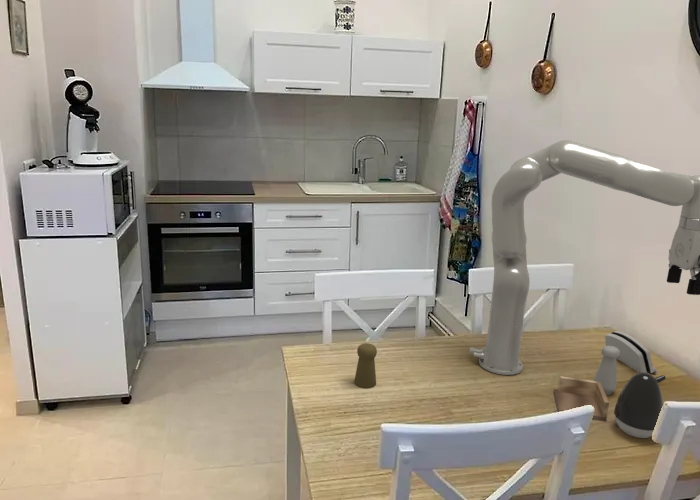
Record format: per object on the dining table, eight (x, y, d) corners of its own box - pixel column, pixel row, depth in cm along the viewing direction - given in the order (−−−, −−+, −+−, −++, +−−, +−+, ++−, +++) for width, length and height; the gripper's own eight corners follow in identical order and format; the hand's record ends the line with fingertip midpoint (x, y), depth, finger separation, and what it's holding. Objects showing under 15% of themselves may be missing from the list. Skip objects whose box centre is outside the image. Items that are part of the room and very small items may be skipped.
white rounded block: (658, 374, 159) (654, 345, 156) (644, 380, 158) (640, 351, 155) (619, 350, 175) (614, 323, 171) (606, 355, 174) (601, 328, 171)
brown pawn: (379, 380, 147) (382, 343, 145) (371, 390, 142) (373, 352, 139) (359, 375, 150) (361, 338, 147) (350, 385, 144) (352, 347, 142)
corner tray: (558, 413, 135) (561, 395, 134) (553, 392, 146) (556, 375, 144) (605, 421, 133) (609, 402, 132) (597, 399, 143) (600, 381, 142)
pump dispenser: (670, 442, 125) (683, 382, 122) (631, 446, 123) (643, 385, 119) (638, 418, 135) (650, 362, 131) (602, 421, 133) (612, 364, 129)
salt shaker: (592, 393, 146) (599, 349, 143) (591, 384, 151) (598, 341, 148) (615, 398, 144) (624, 353, 141) (614, 389, 149) (622, 345, 146)
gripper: (663, 217, 147) (652, 277, 151) (700, 231, 130) (686, 298, 134) (691, 218, 146) (679, 279, 151) (732, 232, 130) (717, 300, 134)
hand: (682, 288), depth 142 cm, fingers open, 9 cm apart
